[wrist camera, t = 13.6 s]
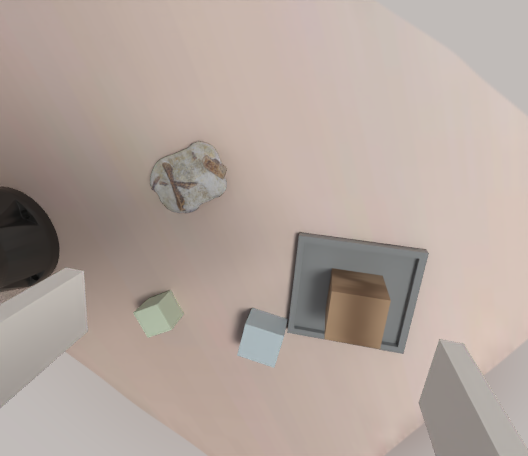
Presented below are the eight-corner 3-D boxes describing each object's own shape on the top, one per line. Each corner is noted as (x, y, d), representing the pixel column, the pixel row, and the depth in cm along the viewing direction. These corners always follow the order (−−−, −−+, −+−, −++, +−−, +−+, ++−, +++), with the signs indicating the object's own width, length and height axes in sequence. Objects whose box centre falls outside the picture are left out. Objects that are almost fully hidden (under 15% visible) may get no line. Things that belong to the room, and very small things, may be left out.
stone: (178, 220, 43) (167, 225, 41) (149, 169, 43) (136, 171, 40) (239, 186, 40) (231, 189, 38) (209, 130, 39) (199, 130, 37)
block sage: (161, 321, 50) (147, 337, 46) (148, 298, 49) (133, 312, 45) (184, 313, 48) (171, 329, 45) (170, 289, 48) (157, 304, 44)
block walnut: (325, 310, 43) (324, 339, 38) (331, 268, 41) (331, 291, 36) (373, 318, 42) (380, 349, 37) (382, 275, 40) (390, 300, 35)
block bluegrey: (244, 336, 48) (237, 355, 44) (252, 307, 46) (245, 323, 42) (278, 347, 47) (274, 367, 43) (287, 318, 45) (283, 336, 42)
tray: (288, 327, 46) (287, 332, 45) (299, 232, 41) (298, 235, 40) (401, 347, 43) (403, 353, 42) (425, 249, 39) (428, 253, 38)
